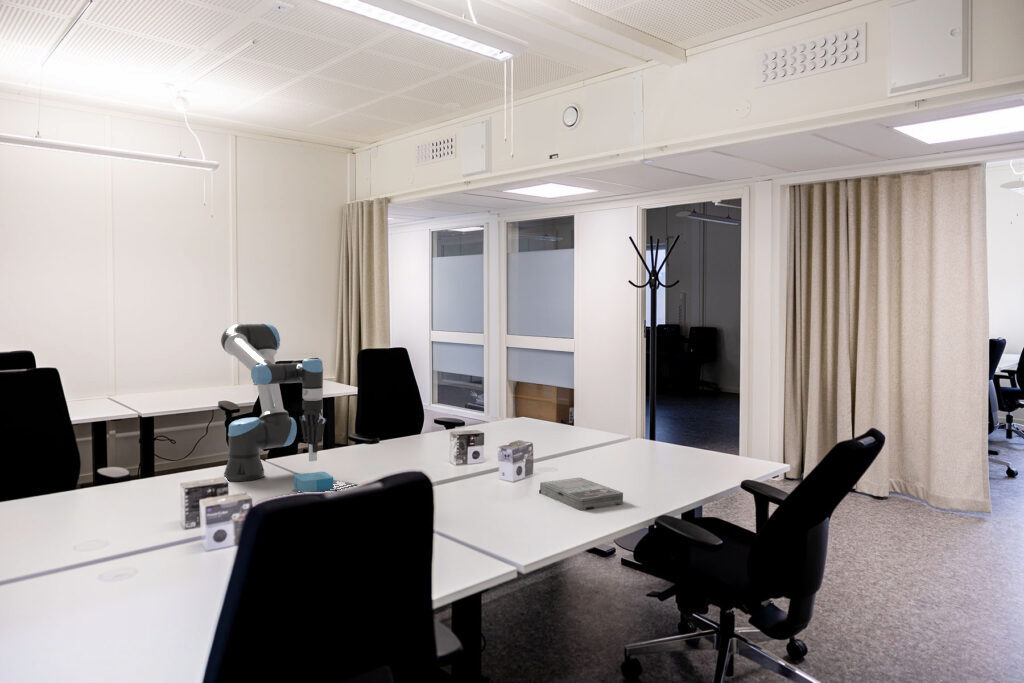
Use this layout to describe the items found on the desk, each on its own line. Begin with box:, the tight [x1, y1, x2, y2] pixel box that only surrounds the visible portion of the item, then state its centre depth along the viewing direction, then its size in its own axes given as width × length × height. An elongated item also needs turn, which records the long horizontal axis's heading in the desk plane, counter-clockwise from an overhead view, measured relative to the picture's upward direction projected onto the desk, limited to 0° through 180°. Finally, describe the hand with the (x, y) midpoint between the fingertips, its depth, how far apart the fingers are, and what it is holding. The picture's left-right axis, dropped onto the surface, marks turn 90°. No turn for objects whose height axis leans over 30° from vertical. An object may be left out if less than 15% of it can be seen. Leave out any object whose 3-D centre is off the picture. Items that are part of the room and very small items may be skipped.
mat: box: [291, 479, 359, 494], centre depth 259 cm, size 14×20×1 cm
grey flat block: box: [538, 477, 624, 512], centre depth 247 cm, size 18×27×4 cm
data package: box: [293, 471, 334, 492], centre depth 258 cm, size 12×4×12 cm
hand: (312, 460), depth 263 cm, fingers closed
